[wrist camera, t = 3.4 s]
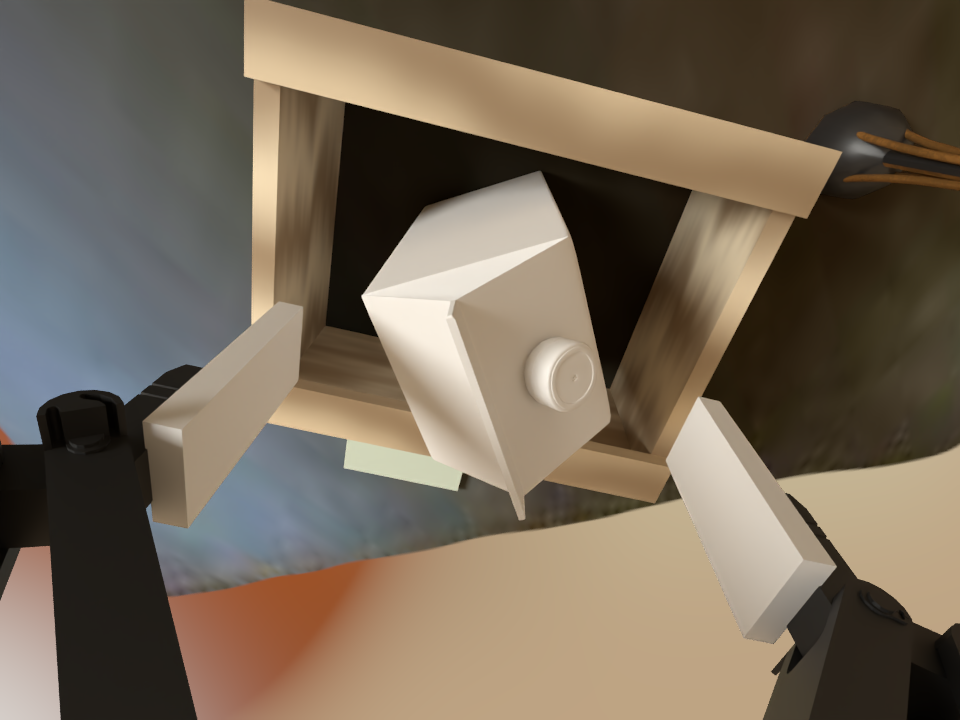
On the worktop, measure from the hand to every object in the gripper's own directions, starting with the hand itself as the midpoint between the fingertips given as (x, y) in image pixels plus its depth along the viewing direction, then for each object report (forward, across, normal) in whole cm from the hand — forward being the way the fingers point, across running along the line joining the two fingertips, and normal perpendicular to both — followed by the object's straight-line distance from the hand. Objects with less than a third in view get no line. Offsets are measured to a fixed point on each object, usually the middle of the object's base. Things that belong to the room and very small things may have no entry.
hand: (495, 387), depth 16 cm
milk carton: (+16, 0, 0) cm, 16 cm away
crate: (+16, 0, 0) cm, 16 cm away
